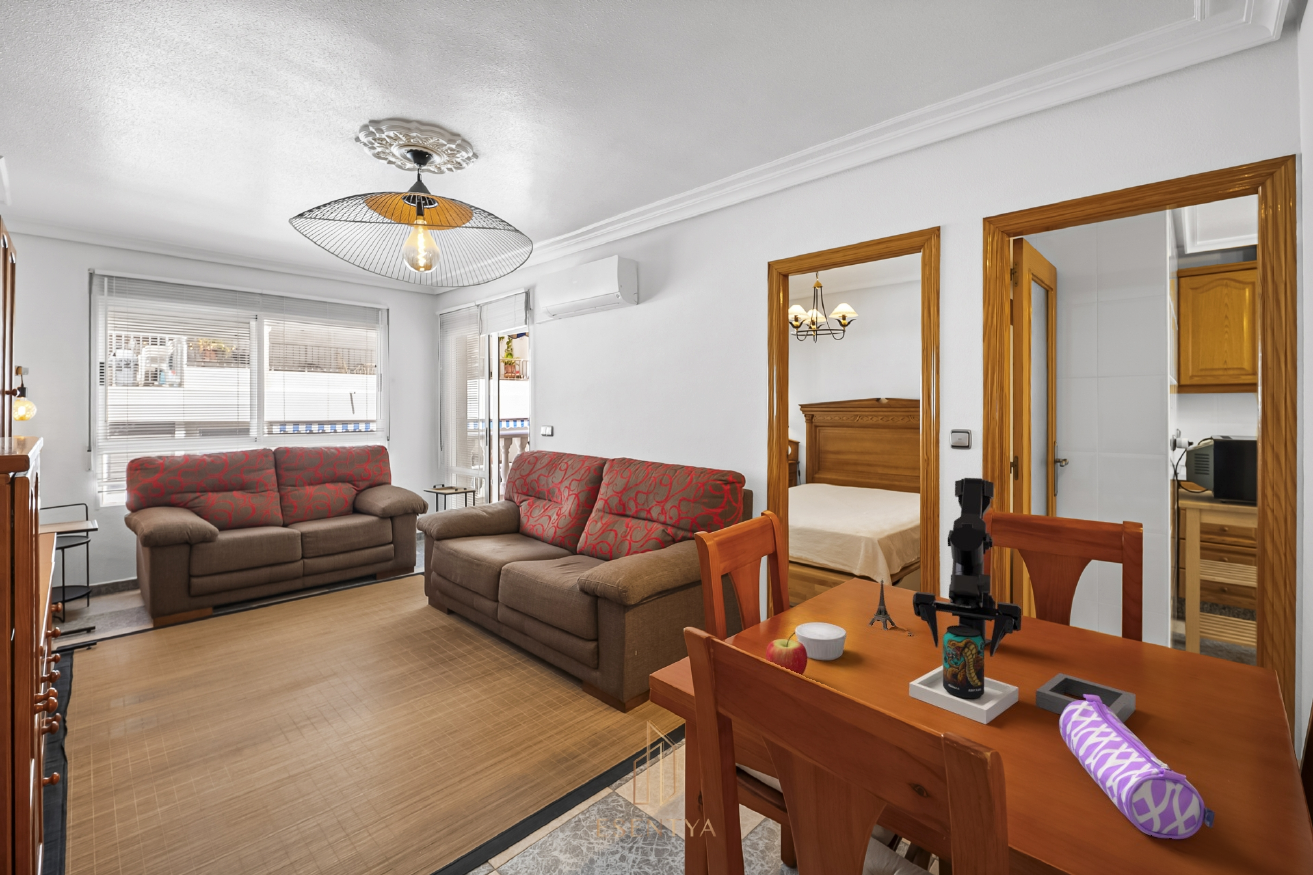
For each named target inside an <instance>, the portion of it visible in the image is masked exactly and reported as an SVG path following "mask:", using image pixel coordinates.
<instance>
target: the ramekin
mask: <svg viewBox="0 0 1313 875" xmlns="http://www.w3.org/2000/svg"><path fill="white" fill-rule="evenodd" d="M794 632H795V636H796V641H798V642H800V643H802V644H803V645H804V646H805V648H806V651H807V658H808V659H813V660H816V661H833V660H837V659H839V658H840V657H841V656H842V655H843V653H844V648H845V641H846V639H847V631H846V630H845V629H844V628H843V627H840V626H838V625H835V624H831V623H828V622H827V623H826V622H816V621H815V622H805V623H802V624H799V625H798V626H796V627H795V631H794Z"/></svg>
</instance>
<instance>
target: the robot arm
mask: <svg viewBox="0 0 1313 875" xmlns="http://www.w3.org/2000/svg"><path fill="white" fill-rule="evenodd" d="M954 497H955V498H958V499H957V500H958V501H957V502H958V504H959V507H960V516H959V517H958V518H956V519H955V520H954V521H953V526H952V529H949V532H948V534H947V547H950V549H951V550H950V551H951V552H950V554H951V558H952V559H951V560H952V570H951V574H950V583H949V587H948V599H949V602H947V601H940V600H937V599H936V594H935V593H931V592H924V591H916V592H915V593H913V594H912V595H913V596H912V607H913V613H914V615H915V616H916V617H919V618H920V619H921V620H922V621H923V622H926V623H927V625H928V627H929V629H930V633H931V636H932V639H933V644H934V647H935V648H939V630H938V628H939V626H938V617H937V612H941V613H942V612H943V613H950V614H951V616H952V617H958V625H960V626H967V627H972V628H975V629H977V630H979V631H980V633H981V635H980V636H981V637H982V639H983V641H984V647H985V646H988V645H989V657H990V658H992V657H994V655H995V652H996V651H997V648H998V647H999V645H1000V643H1001V642H1002V640H1003V639H1004V638H1005V637H1006V635H1008V634H1009V635H1012V634H1014V633H1013V632H1014V631H1016V632H1019V631H1020V632H1021V630H1022V607H1021V606H1020V605H1019V604H1018V603H1017V604H1016V603H1010V602H1001V601H997V603H996V601H995V600H994V598H993V595H992V594H991V577H992V576H991V574H984V570H985V569H984V567H985V560H984V555H986V553H987V552H986V551H990V549H992V548H993V546H994V538H993V537H992V535H990V534H991V533H990V532H987V522H986V521H984V516H985V515H986V514H987V512H988V511H989V510H990V508H991V500H994V499H995V482H992V481H989V479H983V478H981V477H964V478H961V479H958V480H955V481H954ZM996 604H997V606H996ZM987 621H988V622H992V621H994V622H993V629H992V634H991V639H990V638H987V637H986V633H987V632H986V631H987V630H986V626H987Z"/></svg>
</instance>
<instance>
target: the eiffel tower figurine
mask: <svg viewBox="0 0 1313 875" xmlns="http://www.w3.org/2000/svg"><path fill="white" fill-rule="evenodd" d="M884 589H885V588H884V580H883V579H881V580H880V592H879V602H878V605H877V610H876V613H874V618H871V620H870V622H869V623H868V624H867V625H871V626H872V625H873V623H874V622H875V621H881V622H882V623H883V629H884V630H883V631H886V630H887V631H889V630H888V628H887V620H888V621H889V622H890V623H891V625H892V626H896V625H895V623H894V622H893V621H892V619H893V618H892V619H891V616H890V613H888V610H887V605H886V602H885V601H886V600H885V593H884V592H885V590H884ZM871 626H870V627H871ZM908 634H912V633H911V632H910V633H908ZM913 636H914V635H913V634H912V635H911V636H910V635H908V636H907V637H913Z"/></svg>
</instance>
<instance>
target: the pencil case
mask: <svg viewBox="0 0 1313 875" xmlns="http://www.w3.org/2000/svg"><path fill="white" fill-rule="evenodd" d="M1083 696H1084V697H1085V698H1086V699H1084V700H1082V699H1080V700H1079V699H1077V700H1078V701H1074V702H1072V703H1070V704H1069V705H1068V706H1067V707H1066V708H1065V709H1064V711H1063V713H1062V715H1061V714H1060V717H1059V721H1058V724H1059V725H1058V726H1059V727H1058V728H1059V731H1060V732H1059V733H1060V735H1061V738H1062V739H1063V741H1064V742H1065V744H1066V746H1067V748H1068V749H1069V751H1070V752H1071V753H1072V754H1073V756H1075V758H1077V760H1078V762H1079V764H1080V765H1081V766H1082V768H1084V770H1085V771H1086V772H1087V774H1088V775H1090V778H1092V780H1093V781H1094V782H1095V783H1096V784H1097V785H1098V786H1099V787H1100V789H1101V790H1102V791H1103V792H1104V793H1105V795H1107V797H1108V799H1110V800H1111V802H1112V803H1113V804H1114V805H1115V807H1116V808H1117V809H1118V810H1119V811H1120V812H1121V813H1122V814H1123V815H1124V816H1125V817H1126V818H1127V819H1128V820H1129V821H1130V822H1131V824H1133V825H1134V826H1135V827H1136V828H1137V829H1138V830H1139V831H1141V832H1142V833H1144V834H1146V835H1149V836H1151V835H1152V836H1151V837H1154V838H1157V839H1169V838H1172V839H1171V840H1183V839H1188V838H1190V837H1191V836H1193V835H1194V834H1196V833H1197V832H1198V831H1199V830H1200V829H1201V826H1202V825H1203V823H1204V824H1205V825H1206V826H1207V827H1209V828H1213V826H1214V821H1215V815H1216V813H1215V812H1214V811H1213V810H1212V809H1210V808H1207V807H1206V806H1205V802H1204V800H1203V798H1202V796H1201V795H1200V793H1199V791H1198V790H1197V789H1196V788H1195V787H1194V786H1193V784H1191V782H1189V781H1188V780H1187V779H1186V778H1187V776H1186V775H1185V774H1181V773H1178V772H1175V771H1174V770H1172V769H1171V768H1170V766H1169V765H1168V764H1167V763H1164V762H1163V761H1161V760H1160V759H1158V758H1157V756H1156V755H1155V754H1154V753H1153V752H1151V750H1150V749H1149V748H1148V747H1147V746H1146V745H1145V744H1144V743H1143V742H1142V741H1141V740H1140V738H1139V737H1137V736H1136V735H1135V734H1134V733H1133V731H1131V730H1130V729H1129V728H1128V727H1127V726H1126V724H1125V723H1122V722H1121V721H1120V719H1119V718H1118V717H1117V716H1116V715H1115V714H1114V712H1113V711H1112V710H1111V709H1110V708H1109V707H1110V706H1108V705H1105V704H1102V701H1101V699H1100V697H1099V696H1096V695H1086V694H1083Z"/></svg>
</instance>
